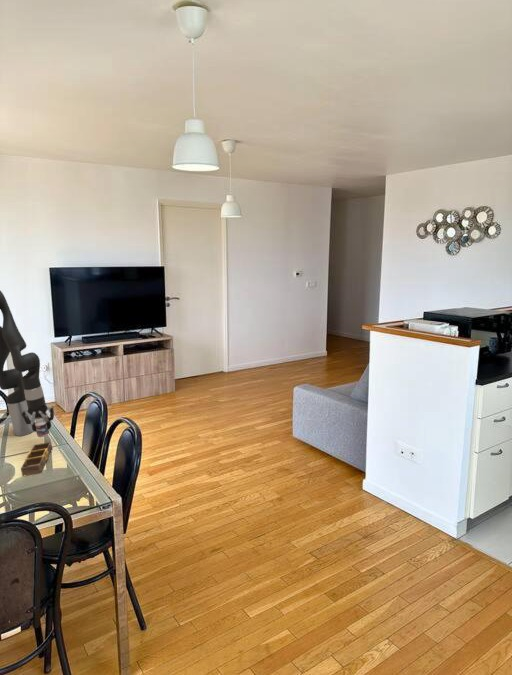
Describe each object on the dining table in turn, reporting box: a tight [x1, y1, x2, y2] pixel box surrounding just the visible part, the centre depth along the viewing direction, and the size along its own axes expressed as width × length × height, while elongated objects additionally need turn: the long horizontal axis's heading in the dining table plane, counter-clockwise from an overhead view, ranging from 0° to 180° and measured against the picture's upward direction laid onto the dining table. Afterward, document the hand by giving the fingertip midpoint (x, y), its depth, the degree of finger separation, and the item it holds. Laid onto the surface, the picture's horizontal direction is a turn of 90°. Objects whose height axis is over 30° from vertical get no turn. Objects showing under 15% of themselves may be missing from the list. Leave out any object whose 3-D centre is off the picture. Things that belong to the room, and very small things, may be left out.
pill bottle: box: [35, 417, 50, 438], centre depth 216 cm, size 5×5×9 cm
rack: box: [20, 441, 53, 477], centre depth 202 cm, size 21×8×4 cm, turn 11°
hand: (42, 429), depth 216 cm, fingers closed on pill bottle, 5 cm apart
